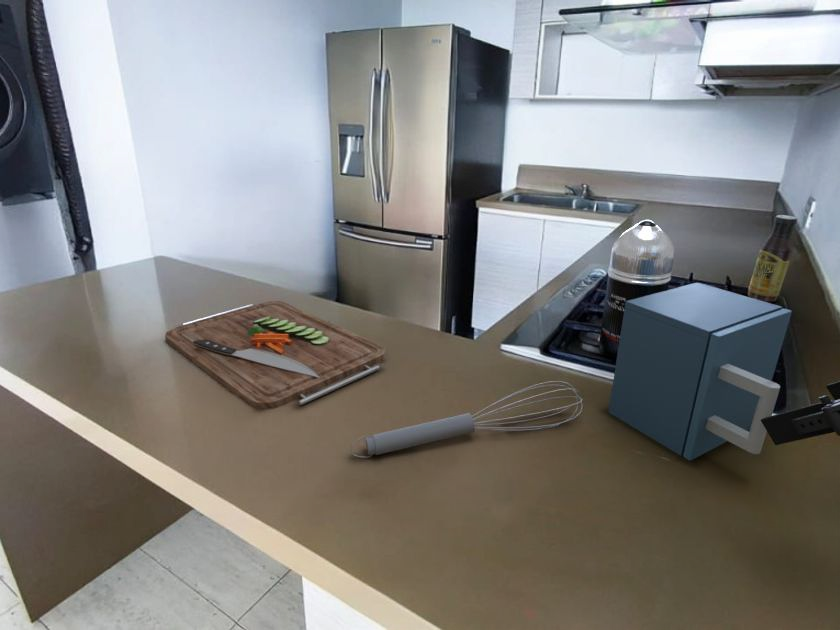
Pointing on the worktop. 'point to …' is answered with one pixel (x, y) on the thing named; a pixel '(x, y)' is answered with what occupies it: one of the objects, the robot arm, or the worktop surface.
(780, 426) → the robot arm
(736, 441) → the cupboard door
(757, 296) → the sauce bottle
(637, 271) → the black domed canister
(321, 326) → the chopping board
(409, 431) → the kitchen whisk
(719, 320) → the cupboard
